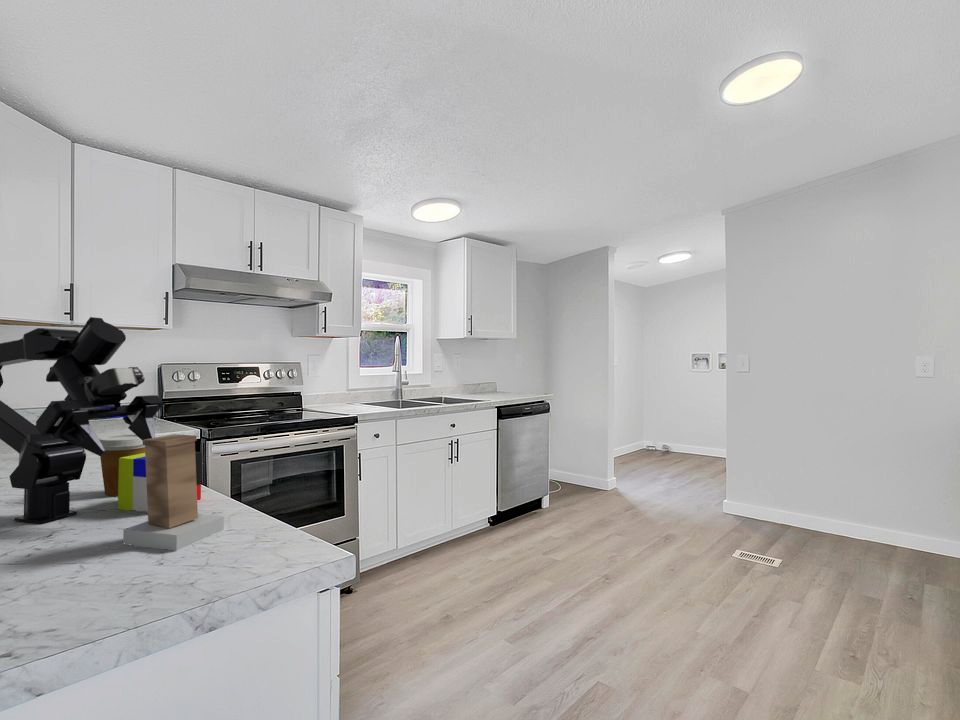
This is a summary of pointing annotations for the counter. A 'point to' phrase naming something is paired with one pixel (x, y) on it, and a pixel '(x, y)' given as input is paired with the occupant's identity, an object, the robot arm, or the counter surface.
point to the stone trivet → (173, 533)
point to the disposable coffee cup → (117, 458)
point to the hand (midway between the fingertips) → (129, 449)
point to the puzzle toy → (141, 481)
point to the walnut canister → (171, 480)
